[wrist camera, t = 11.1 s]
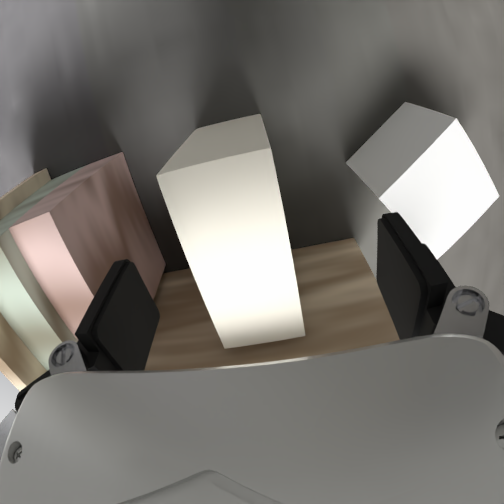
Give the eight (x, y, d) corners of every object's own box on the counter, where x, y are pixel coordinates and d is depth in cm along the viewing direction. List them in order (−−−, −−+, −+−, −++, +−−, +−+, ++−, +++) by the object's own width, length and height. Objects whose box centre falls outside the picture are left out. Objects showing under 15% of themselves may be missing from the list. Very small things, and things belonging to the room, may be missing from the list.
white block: (196, 128, 18) (155, 175, 10) (260, 113, 17) (270, 147, 10) (231, 250, 23) (224, 348, 15) (286, 240, 22) (305, 335, 15)
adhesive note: (404, 101, 17) (456, 117, 12) (449, 162, 19) (499, 195, 14) (344, 162, 19) (378, 198, 14) (396, 217, 21) (434, 263, 16)
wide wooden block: (33, 174, 19) (-76, 264, 8) (337, 86, 16) (456, 118, 6) (95, 300, 25) (44, 414, 15) (354, 254, 23) (413, 389, 13)
